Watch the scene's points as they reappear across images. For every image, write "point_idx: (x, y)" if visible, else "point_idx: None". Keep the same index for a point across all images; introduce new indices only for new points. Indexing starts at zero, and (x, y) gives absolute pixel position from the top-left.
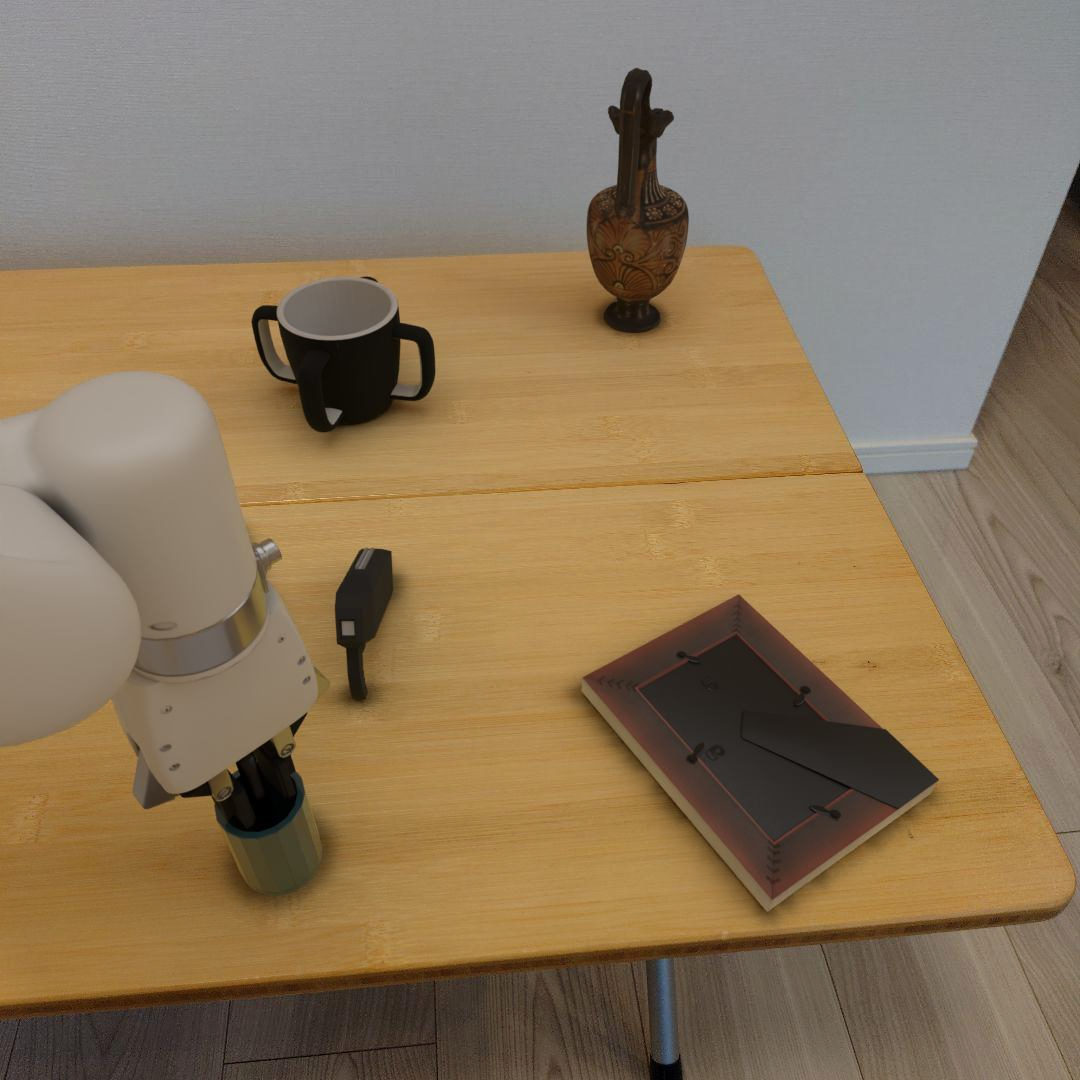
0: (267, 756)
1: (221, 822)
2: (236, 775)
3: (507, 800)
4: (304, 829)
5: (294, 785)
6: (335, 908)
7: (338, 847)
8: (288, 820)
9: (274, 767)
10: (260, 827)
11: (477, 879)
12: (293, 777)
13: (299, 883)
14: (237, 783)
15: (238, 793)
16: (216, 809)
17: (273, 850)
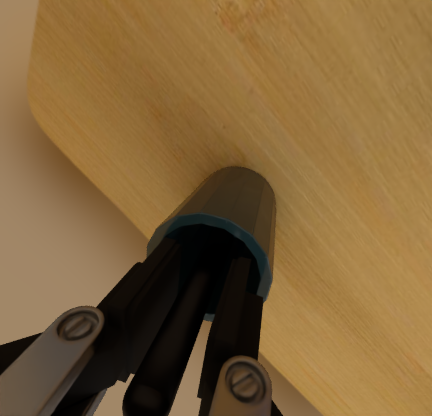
0: (204, 380)
1: (148, 254)
2: (207, 221)
3: (406, 337)
4: None
5: (258, 278)
6: None
7: (275, 239)
8: (208, 317)
9: (197, 396)
10: (211, 232)
11: (317, 341)
12: (259, 290)
13: None
14: (130, 364)
15: (119, 378)
16: (154, 237)
17: None
